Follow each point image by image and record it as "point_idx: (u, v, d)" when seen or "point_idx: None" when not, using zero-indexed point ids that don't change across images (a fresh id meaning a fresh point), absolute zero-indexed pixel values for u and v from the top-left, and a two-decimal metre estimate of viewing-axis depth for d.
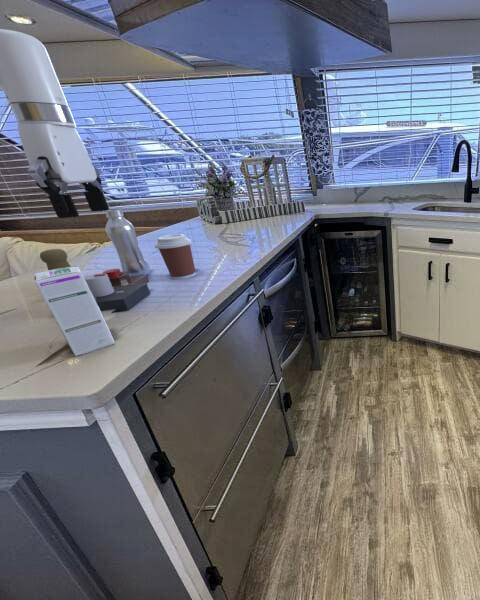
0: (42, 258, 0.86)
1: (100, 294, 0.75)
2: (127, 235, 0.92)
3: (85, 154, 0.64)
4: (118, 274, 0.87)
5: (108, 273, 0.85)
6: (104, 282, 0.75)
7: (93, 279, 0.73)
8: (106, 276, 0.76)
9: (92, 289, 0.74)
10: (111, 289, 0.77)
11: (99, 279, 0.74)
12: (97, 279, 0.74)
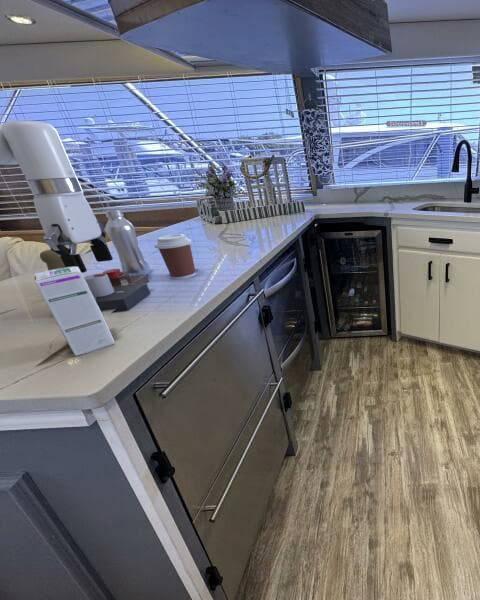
0: (42, 258, 0.86)
1: (100, 294, 0.75)
2: (127, 235, 0.92)
3: (91, 215, 0.73)
4: (118, 274, 0.87)
5: (108, 273, 0.85)
6: (104, 282, 0.75)
7: (93, 279, 0.73)
8: (106, 276, 0.76)
9: (92, 289, 0.74)
10: (111, 289, 0.77)
11: (99, 279, 0.74)
12: (97, 279, 0.74)
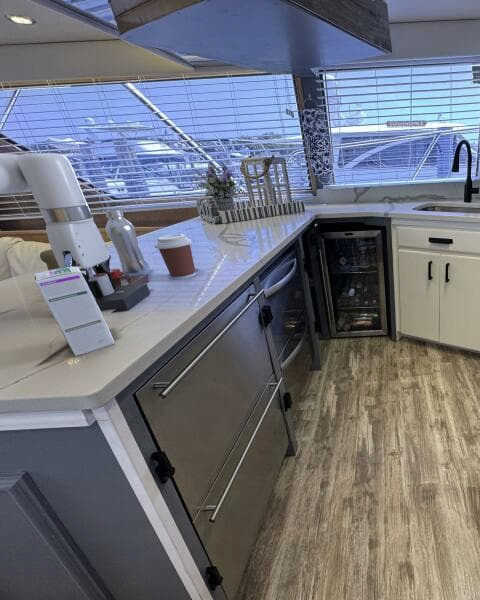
0: (42, 258, 0.86)
1: None
2: (127, 235, 0.92)
3: (100, 239, 0.75)
4: (118, 274, 0.87)
5: None
6: (104, 282, 0.75)
7: None
8: (106, 276, 0.76)
9: None
10: (111, 289, 0.77)
11: (99, 279, 0.74)
12: (97, 279, 0.74)
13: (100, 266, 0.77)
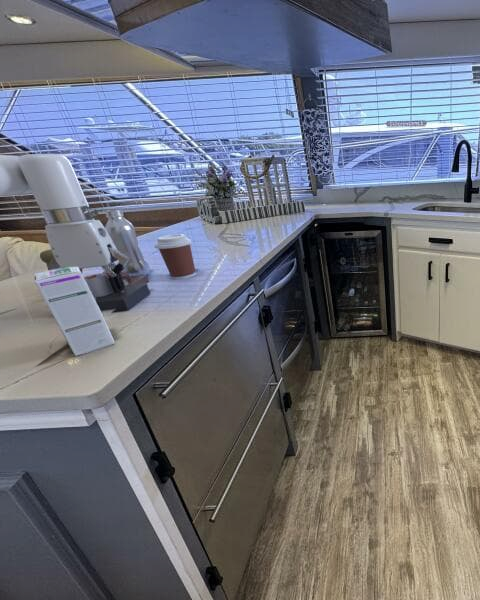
0: (42, 258, 0.86)
1: None
2: (127, 235, 0.92)
3: (90, 245, 0.70)
4: None
5: None
6: None
7: None
8: (90, 280, 0.73)
9: None
10: (95, 293, 0.74)
11: None
12: None
13: None
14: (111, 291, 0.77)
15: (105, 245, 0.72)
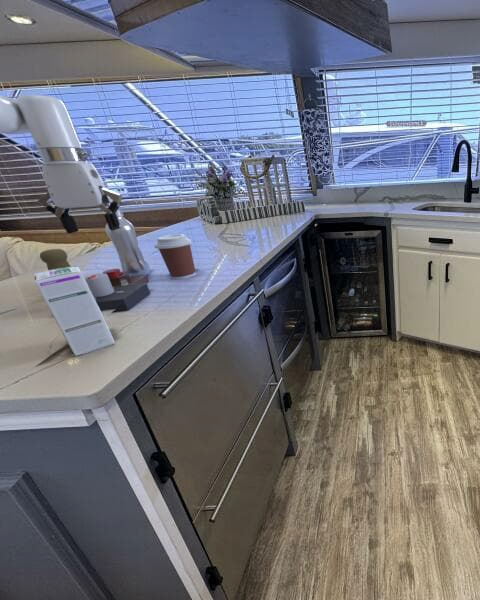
0: (42, 258, 0.86)
1: None
2: (127, 235, 0.92)
3: (83, 184, 0.76)
4: (118, 274, 0.87)
5: (108, 273, 0.85)
6: None
7: None
8: (90, 280, 0.73)
9: None
10: (95, 293, 0.74)
11: None
12: None
13: None
14: (111, 291, 0.77)
15: (97, 186, 0.78)
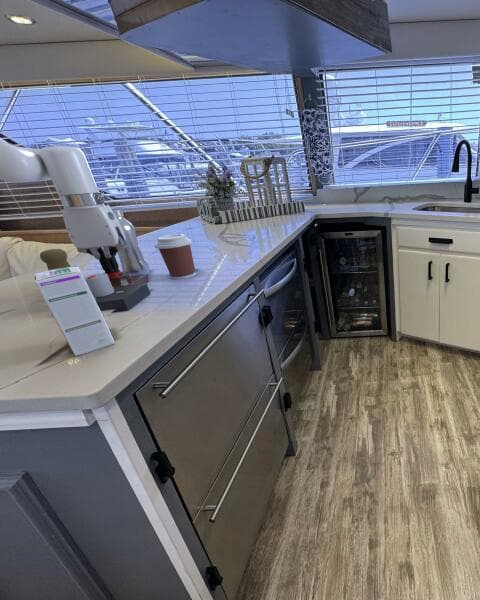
0: (42, 258, 0.86)
1: None
2: (127, 235, 0.92)
3: (101, 226, 0.80)
4: (118, 275, 0.87)
5: (109, 274, 0.85)
6: None
7: None
8: (90, 280, 0.73)
9: None
10: (95, 293, 0.74)
11: None
12: None
13: None
14: (111, 291, 0.77)
15: (114, 227, 0.82)
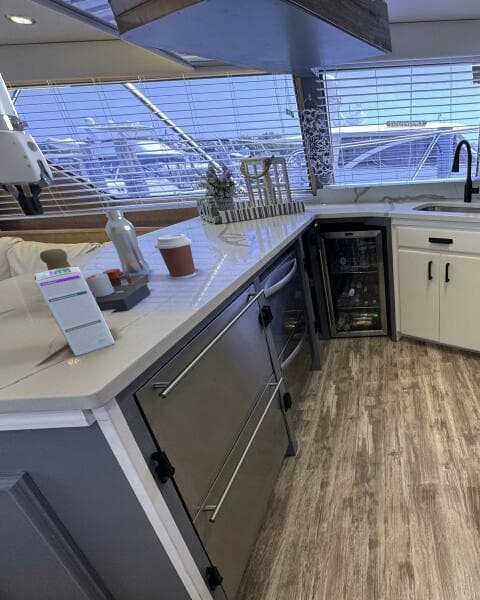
0: (42, 258, 0.86)
1: None
2: (127, 235, 0.92)
3: (18, 157, 0.69)
4: (118, 274, 0.87)
5: (108, 273, 0.85)
6: None
7: None
8: (90, 280, 0.73)
9: None
10: (95, 293, 0.74)
11: None
12: None
13: None
14: (111, 291, 0.77)
15: (35, 160, 0.71)
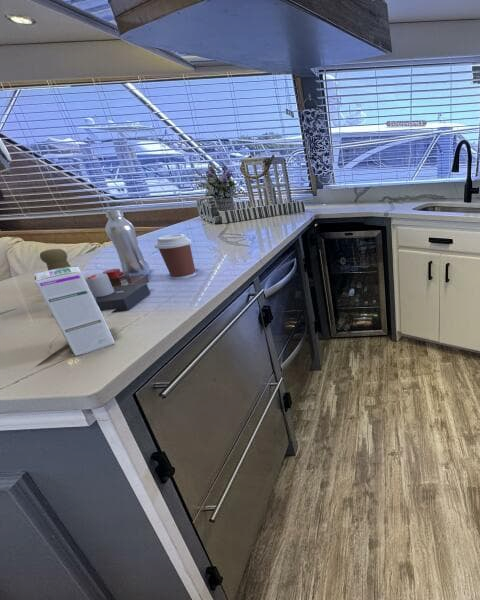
0: (42, 258, 0.86)
1: None
2: (127, 235, 0.92)
3: None
4: (118, 274, 0.87)
5: (108, 273, 0.85)
6: None
7: None
8: (90, 280, 0.73)
9: None
10: (95, 293, 0.74)
11: None
12: None
13: None
14: (111, 291, 0.77)
15: None
